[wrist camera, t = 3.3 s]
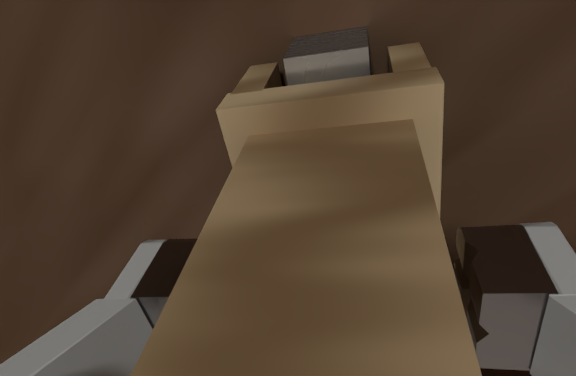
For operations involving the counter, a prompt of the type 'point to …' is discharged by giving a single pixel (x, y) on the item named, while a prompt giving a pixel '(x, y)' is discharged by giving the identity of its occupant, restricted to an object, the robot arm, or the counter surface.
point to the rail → (327, 57)
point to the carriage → (323, 237)
